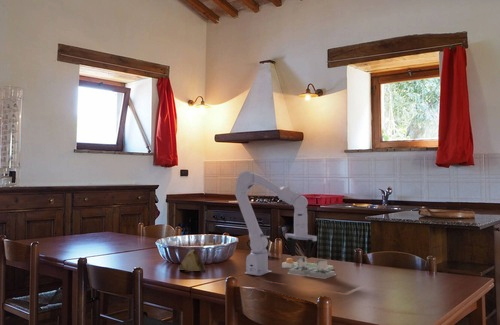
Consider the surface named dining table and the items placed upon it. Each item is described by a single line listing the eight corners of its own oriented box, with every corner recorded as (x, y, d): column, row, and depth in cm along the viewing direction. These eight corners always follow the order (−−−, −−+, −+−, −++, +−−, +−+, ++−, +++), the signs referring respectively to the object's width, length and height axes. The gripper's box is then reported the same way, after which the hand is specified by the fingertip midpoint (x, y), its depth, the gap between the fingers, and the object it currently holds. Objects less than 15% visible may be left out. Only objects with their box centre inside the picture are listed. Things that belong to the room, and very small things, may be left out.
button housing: (291, 269, 204) (291, 264, 204) (281, 268, 207) (281, 262, 207) (297, 268, 208) (297, 262, 208) (288, 266, 211) (288, 261, 211)
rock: (172, 266, 202) (186, 266, 195) (180, 249, 207) (194, 248, 200) (188, 278, 208) (203, 278, 201) (196, 261, 212) (210, 260, 205)
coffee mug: (270, 254, 244) (270, 235, 245) (269, 257, 236) (269, 237, 236) (248, 254, 245) (248, 235, 246) (246, 257, 237) (246, 237, 237)
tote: (324, 274, 194) (323, 268, 194) (293, 269, 203) (293, 264, 204) (333, 270, 201) (333, 265, 201) (303, 266, 210) (303, 262, 210)
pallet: (324, 280, 182) (324, 274, 182) (286, 275, 193) (286, 269, 193) (336, 276, 189) (336, 270, 190) (299, 271, 201) (299, 265, 201)
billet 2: (324, 276, 185) (323, 261, 185) (315, 275, 188) (315, 260, 188) (328, 275, 188) (328, 259, 189) (320, 273, 191) (320, 258, 191)
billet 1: (303, 273, 192) (303, 258, 192) (295, 272, 194) (295, 257, 194) (308, 271, 195) (308, 257, 195) (300, 270, 197) (299, 256, 198)
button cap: (290, 266, 205) (290, 259, 205) (285, 265, 207) (285, 258, 207) (293, 265, 207) (293, 258, 208) (288, 264, 209) (288, 257, 209)
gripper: (320, 224, 194) (320, 257, 193) (291, 222, 202) (291, 253, 202) (311, 226, 188) (312, 259, 188) (282, 224, 197) (282, 255, 196)
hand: (300, 256), depth 194 cm, fingers open, 7 cm apart
